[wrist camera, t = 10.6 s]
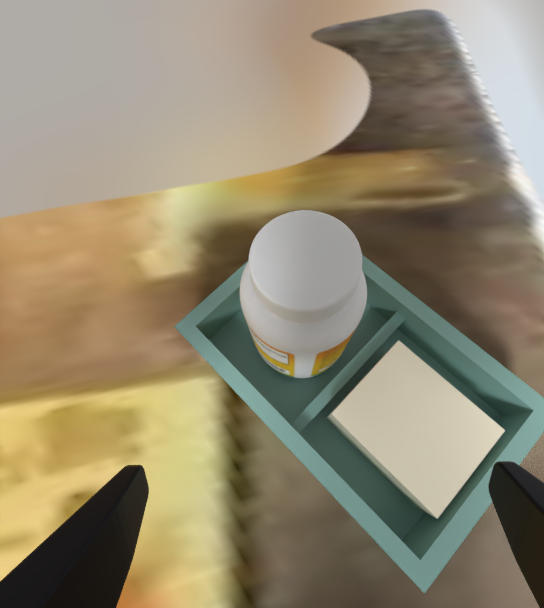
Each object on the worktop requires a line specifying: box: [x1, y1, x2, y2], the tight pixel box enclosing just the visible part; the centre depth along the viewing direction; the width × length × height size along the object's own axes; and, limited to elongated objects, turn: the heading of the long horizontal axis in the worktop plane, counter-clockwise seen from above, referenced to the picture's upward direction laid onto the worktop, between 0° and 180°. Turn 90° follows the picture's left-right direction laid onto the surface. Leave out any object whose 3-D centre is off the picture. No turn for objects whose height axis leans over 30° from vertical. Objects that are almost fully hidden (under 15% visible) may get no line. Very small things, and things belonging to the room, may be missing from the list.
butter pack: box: [326, 340, 505, 519], centre depth 18 cm, size 6×5×3 cm
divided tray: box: [174, 255, 544, 594], centre depth 20 cm, size 16×10×4 cm, turn 45°
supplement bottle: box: [240, 210, 367, 378], centre depth 17 cm, size 5×5×10 cm
